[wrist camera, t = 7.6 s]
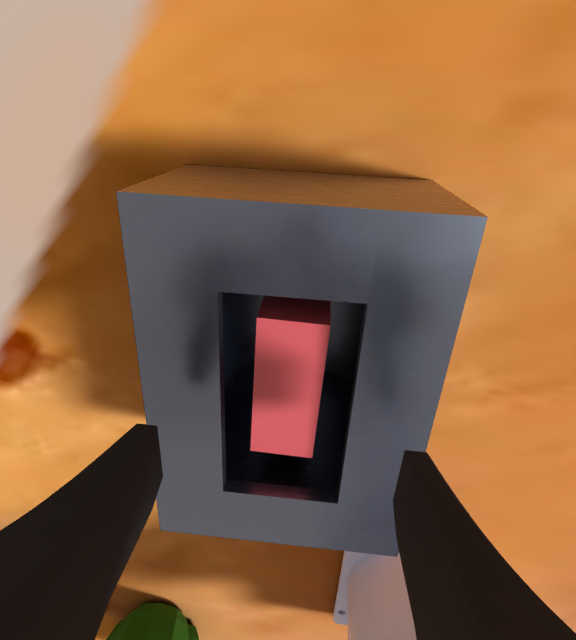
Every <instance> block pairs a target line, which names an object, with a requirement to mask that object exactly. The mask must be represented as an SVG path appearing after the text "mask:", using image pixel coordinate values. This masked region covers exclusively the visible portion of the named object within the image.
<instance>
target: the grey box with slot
mask: <svg viewBox="0 0 576 640" xmlns="http://www.w3.org/2000/svg"><path fill="white" fill-rule="evenodd" d="M116 194H117V201H118V209H119V217H120V224H121V232H122V240H123V247H124V255H125V263H126V270H127V278H128V286H129V293H130V301H131V309H132V316H133V324H134V332H135V339H136V347H137V355H138V362H139V370H140V378H141V385H142V393H143V401H144V408H145V416H146V424H147V425H155V426H157V427H158V436H159V445H160V453H161V462H162V471H163V478H162V481H161V484H160V488H159V491H158V494H157V497H156V501H157V508H158V516H159V524H160V530H162V531H171V532H180V533H189V534H197V535H206V536H215V537H224V538H233V539H242V540H251V541H260V542H269V543H278V544H287V545H296V546H304V547H313V548H322V549H331V550H340V551H349V552H358V553H367V554H376V555H385V556H394V557H398V554H399V549H398V544H397V539H396V530H395V520H394V509H393V498H394V493H395V489H396V485H397V480H398V476H399V472H400V468H401V463H402V459H403V455H404V451H405V450H408V451H418V452H426V448H427V444H428V440H429V436H430V433H431V429H432V425H433V421H434V418H435V414H436V410H437V406H438V402H439V399H440V395H441V391H442V387H443V384H444V380H445V376H446V372H447V368H448V365H449V361H450V357H451V353H452V350H453V346H454V342H455V338H456V334H457V331H458V327H459V323H460V319H461V316H462V312H463V308H464V304H465V300H466V297H467V293H468V289H469V285H470V282H471V278H472V274H473V270H474V266H475V263H476V259H477V255H478V251H479V248H480V244H481V240H482V236H483V232H484V229H485V225H486V221H487V216H485V215H484V214H482V213H481V212H479V211H478V210H476V209H475V208H473V207H472V206H470V205H469V204H467V203H466V202H464V201H463V200H461V199H460V198H458V197H457V196H455V195H454V194H452V193H451V192H449V191H448V190H446V189H445V188H443V187H442V186H440V185H439V184H437V183H436V182H434V181H433V180H421V179H406V178H391V177H375V176H360V175H344V174H329V173H313V172H298V171H282V170H267V169H252V168H236V167H221V166H205V165H190V164H187V165H184V166H181V167H179V168H176V169H174V170H171V171H168V172H166V173H163V174H161V175H158V176H155V177H153V178H150V179H147V180H145V181H142V182H140V183H137V184H134V185H132V186H129V187H127V188H124V189H121V190H119V191H116ZM264 295H265V296H277V297H289V298H302V299H314V300H326V301H330V312H331V327H330V334H329V341H328V348H327V356H326V363H325V370H324V377H323V384H322V392H321V399H320V406H319V413H318V420H317V428H316V435H315V442H314V449H313V456H312V458H307V457H299V456H290V455H282V454H274V453H265V452H257V451H250V447H251V426H252V405H253V384H254V363H255V342H256V322H257V315H258V312H259V309H260V306H261V304H262V301H263V298H264Z"/></svg>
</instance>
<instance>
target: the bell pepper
mask: <svg viewBox="0 0 576 640" xmlns="http://www.w3.org/2000/svg"><path fill="white" fill-rule="evenodd" d="M106 640H199V638H198V633H197V630H196V627H195V626H193V625H190V624H188V623H187V619H186V617H185V616H184V615H183V614H182V613H181V612H180V610H179V609H178V608H176V607H173V606H169V605H166V604H163V603H143V604H141V605H140V606H138V607H137V608H135V609H134V610H133V611H132V612H131V613H130V614H128V615H127V616H126V617H125V618H124V619H123V620H122V621H120V622H119V623H118V624H117V625H116V627H115V628H114V629H113V631H112V632H111V634H110V635H109V637H108V638H107V639H106Z"/></svg>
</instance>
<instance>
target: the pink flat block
mask: <svg viewBox="0 0 576 640" xmlns="http://www.w3.org/2000/svg"><path fill="white" fill-rule="evenodd" d="M330 327H331V312H330V301H326V300H314V299H302V298H289V297H277V296H265V295H264V298H263V301H262V304H261V306H260V309H259V312H258V315H257V322H256V342H255V363H254V384H253V405H252V426H251V447H250V451H257V452H265V453H274V454H282V455H290V456H299V457H307V458H312V456H313V449H314V442H315V435H316V428H317V420H318V413H319V406H320V399H321V392H322V384H323V377H324V370H325V363H326V356H327V348H328V341H329V334H330Z"/></svg>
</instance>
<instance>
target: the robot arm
mask: <svg viewBox="0 0 576 640" xmlns="http://www.w3.org/2000/svg"><path fill="white" fill-rule="evenodd" d="M162 478H163V471H162V462H161V453H160V445H159V436H158V427H157V426H155V425H145V424H136V425H135V426H134V427H133V428H131V429H130V430H129V431H128V432H127V433H126V434H124V435H123V436H122V437H121V438H120V439H119V440H118V441H116V442H115V443H114V444H113V445H112V446H111V447H110V448H108V449H107V450H106V451H105V452H104V453H103V454H102V455H100V456H99V457H98V458H97V459H96V460H95V461H93V462H92V463H91V464H90V465H89V466H87V467H86V468H85V469H84V470H83V471H81V472H80V473H79V474H78V475H77V476H75V477H74V478H73V479H72V480H70V481H69V482H68V483H67V484H65V485H64V486H63V487H61V488H60V489H59V490H57V491H56V492H55V493H54V494H52V495H51V496H50V497H48V498H47V499H46V500H44V501H43V502H42V503H40V504H39V505H38V506H36V507H35V508H33V509H32V510H31V511H29V512H28V513H26V514H25V515H23V516H22V517H20V518H19V519H17V520H16V521H14V522H13V523H11V524H10V525H8V526H7V527H5V528H4V529H2V530H1V531H0V640H95V638H96V635H97V632H98V630H99V627H100V624H101V622H102V619H103V616H104V614H105V611H106V608H107V606H108V603H109V601H110V599H111V596H112V594H113V592H114V589H115V587H116V585H117V583H118V581H119V579H120V576H121V574H122V572H123V570H124V568H125V566H126V564H127V562H128V560H129V558H130V555H131V553H132V551H133V549H134V547H135V545H136V543H137V541H138V539H139V537H140V534H141V532H142V530H143V528H144V526H145V524H146V522H147V519H148V517H149V515H150V513H151V511H152V508H153V505H154V502H155V500H156V497H157V494H158V491H159V488H160V484H161V481H162ZM393 509H394V520H395V530H396V539H397V544H398V549H399V554H398V557H394V556H385V555H376V554H367V553H358V552H349V551H344V555H343V560H342V566H341V572H340V578H339V584H338V589H337V595H336V601H335V607H334V613H333V621H334V622H335V623H337V624H342V625H348V640H576V633H575V632H574V631H573V630H572V629H570V628H569V627H568V626H567V625H566V624H565V623H564V622H563V621H562V620H561V619H560V618H559V617H558V616H557V615H556V614H555V613H554V612H553V611H552V610H551V609H550V608H549V607H548V606H547V605H546V604H545V603H544V602H543V601H542V600H541V599H540V598H539V597H538V596H537V595H536V594H535V593H534V592H533V591H532V590H531V589H530V587H529V586H528V585H527V584H526V583H525V582H524V581H523V580H522V579H521V578H520V576H519V575H518V574H517V573H516V572H515V571H514V570H513V569H512V567H511V566H510V565H509V564H508V563H507V562H506V560H505V559H504V558H503V557H502V556H501V555H500V553H499V552H498V551H497V550H496V548H495V547H494V546H493V545H492V543H491V542H490V541H489V540H488V538H487V537H486V536H485V535H484V533H483V532H482V531H481V530H480V528H479V527H478V526H477V524H476V523H475V522H474V520H473V519H472V518H471V516H470V515H469V513H468V512H467V511H466V509H465V508H464V507H463V505H462V504H461V502H460V501H459V500H458V498H457V497H456V495H455V494H454V492H453V491H452V490H451V488H450V487H449V485H448V484H447V482H446V481H445V479H444V478H443V476H442V475H441V473H440V472H439V470H438V469H437V467H436V465H435V464H434V462H433V461H432V459H431V458H430V456H429V455H428V454H427V452H418V451H408V450H405V451H404V455H403V459H402V463H401V468H400V472H399V476H398V480H397V485H396V489H395V493H394V498H393Z"/></svg>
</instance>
